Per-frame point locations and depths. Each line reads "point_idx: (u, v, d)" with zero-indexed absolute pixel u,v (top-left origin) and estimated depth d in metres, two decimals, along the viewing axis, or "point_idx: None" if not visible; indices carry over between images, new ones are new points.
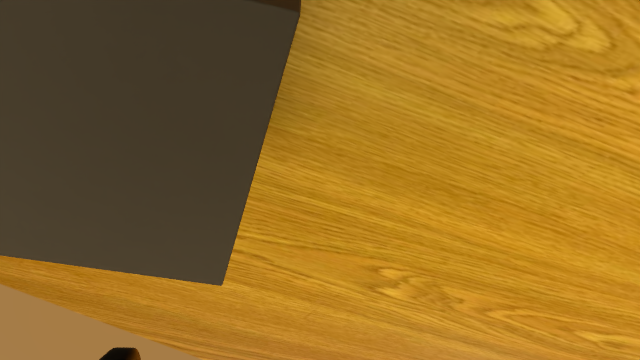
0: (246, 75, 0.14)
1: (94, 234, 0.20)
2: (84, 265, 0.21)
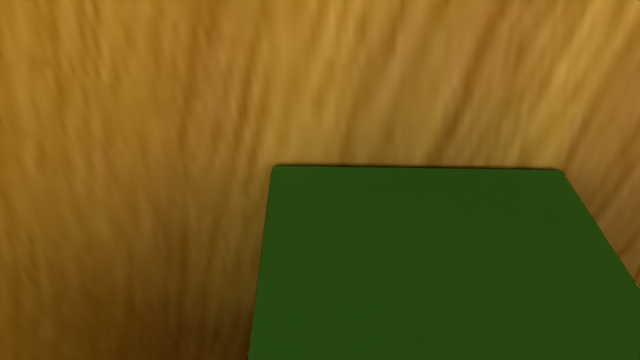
0: None
1: None
2: None
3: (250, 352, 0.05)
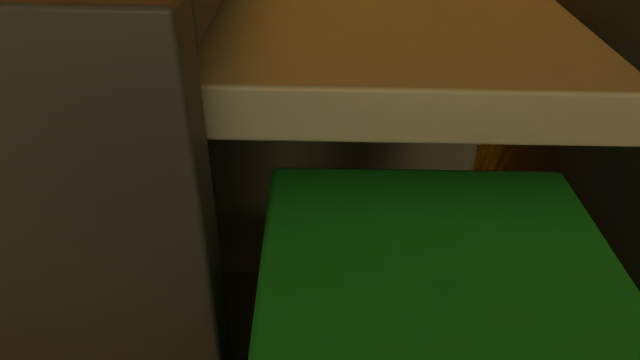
0: None
1: None
2: None
3: (250, 354, 0.05)
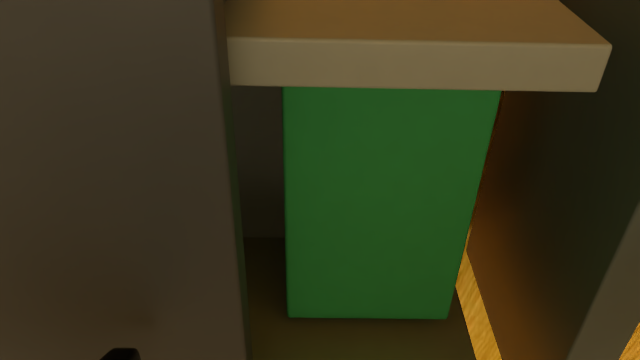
0: None
1: None
2: None
3: None
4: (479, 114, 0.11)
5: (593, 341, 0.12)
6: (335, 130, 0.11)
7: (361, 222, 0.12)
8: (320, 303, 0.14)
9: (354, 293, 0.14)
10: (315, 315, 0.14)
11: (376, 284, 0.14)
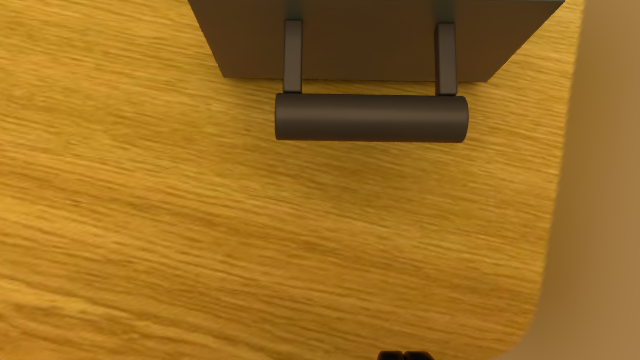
0: None
1: None
2: None
3: None
4: None
5: None
6: None
7: None
8: None
9: None
10: None
11: None
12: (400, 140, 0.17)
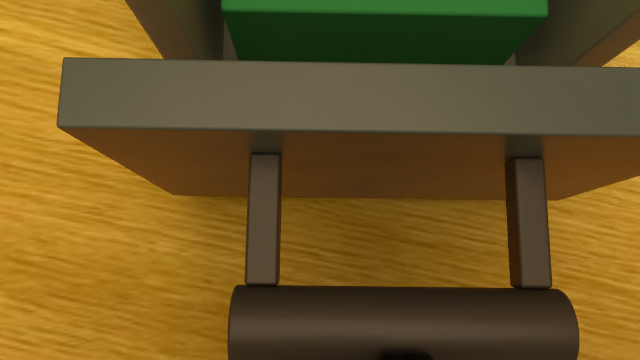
0: None
1: None
2: None
3: None
4: (516, 0, 0.11)
5: (315, 83, 0.09)
6: None
7: None
8: None
9: None
10: None
11: None
12: None
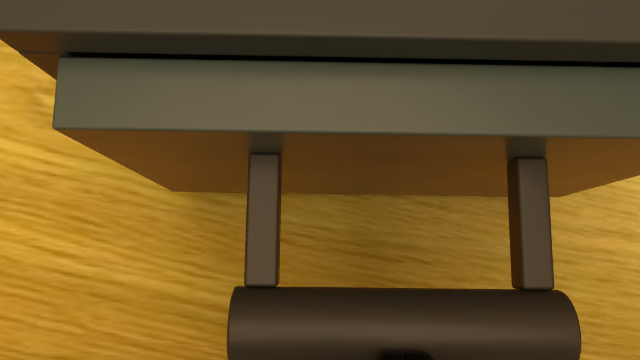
0: None
1: None
2: None
3: None
4: None
5: (315, 83, 0.09)
6: None
7: None
8: None
9: None
10: None
11: None
12: None
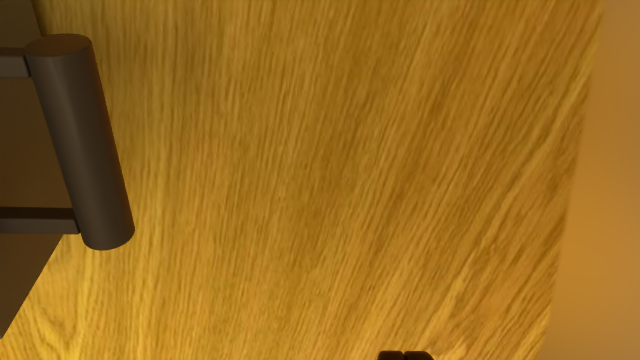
0: None
1: None
2: None
3: None
4: None
5: None
6: None
7: None
8: None
9: None
10: None
11: None
12: (105, 121, 0.14)
